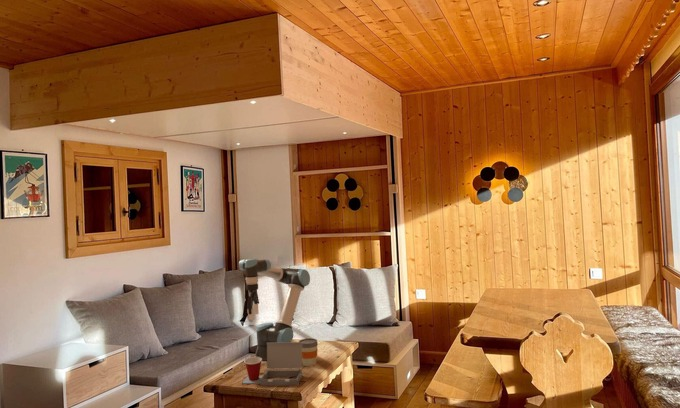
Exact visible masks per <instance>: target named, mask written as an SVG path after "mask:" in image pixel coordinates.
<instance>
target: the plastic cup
mask: <svg viewBox="0 0 680 408" xmlns="http://www.w3.org/2000/svg"><path fill="white" fill-rule="evenodd" d="M262 361H263V360H262V358H260V357H255V356H251V357H248V358H245V359H244V360H243V362H244V364H245V368H246V372H247V376H249V380H251V381H255V380H258V379H259V376H260V373H261V366H262V365H261V364H262Z"/></svg>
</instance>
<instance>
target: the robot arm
mask: <svg viewBox="0 0 680 408" xmlns="http://www.w3.org/2000/svg"><path fill="white" fill-rule="evenodd" d="M238 268H239V270H240V271H243V272H245V278H244V280H245V283H246V284H245V286H246V287H245V288H246V291H249V292H247V303H246V304H247V305H246V310H247V313H248V314H247V316H248V318H247V319H248V320H253V319H254V315H259V314H260V313H259V304H260V299H259V295H258V290H259V283H258V282H259V276H258V275H260V276H264V277H267V278H270V279H273V280H274V281H276V282H279V283H281V284H285V285H287V286H288V291H287V293H286V295H285V296H286V297H285V300H284V303H283V307H282V309H281V313H280V316H279V319H278V321H276V322H275V324H274V323H273V322H265V323H260V324H257V326H256V344H257V345H256V346H257V347H256V350H255V351H256V352H255V355H254V357H260V358H262V361H267V343H277V342H293V338H294V336H295V335H294V330H293V326H292V321H293V319H294V315H295V312H296V309H297V306H298V302H299V298H300V296H301V293H302V292H303V291H304V290H305V287H308V286H309V284H310V282H311V276H310V273H309V271H308V270H307V269H305V268H291V267H289V268H287V267H278V266H277V267H275V266H274V267H273V266H272V263H271V261H270V260H269V259H267V258H266V259H257V258H244V259H243V258H242V259H240V261H239V262H238Z"/></svg>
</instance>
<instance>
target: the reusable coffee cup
mask: <svg viewBox="0 0 680 408" xmlns="http://www.w3.org/2000/svg"><path fill="white" fill-rule="evenodd" d="M298 342H302V366H304V367H312V366H315V365H317V357H318V345H319V343H318V339H315V338H302V339H300V340H299V341H298Z"/></svg>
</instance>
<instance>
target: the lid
mask: <svg viewBox="0 0 680 408" xmlns="http://www.w3.org/2000/svg"><path fill="white" fill-rule="evenodd" d="M278 370H302V371H303V365H302V342H299V341H295V342H294V341H291V342H277V343H267V360H266V371H278Z"/></svg>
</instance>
